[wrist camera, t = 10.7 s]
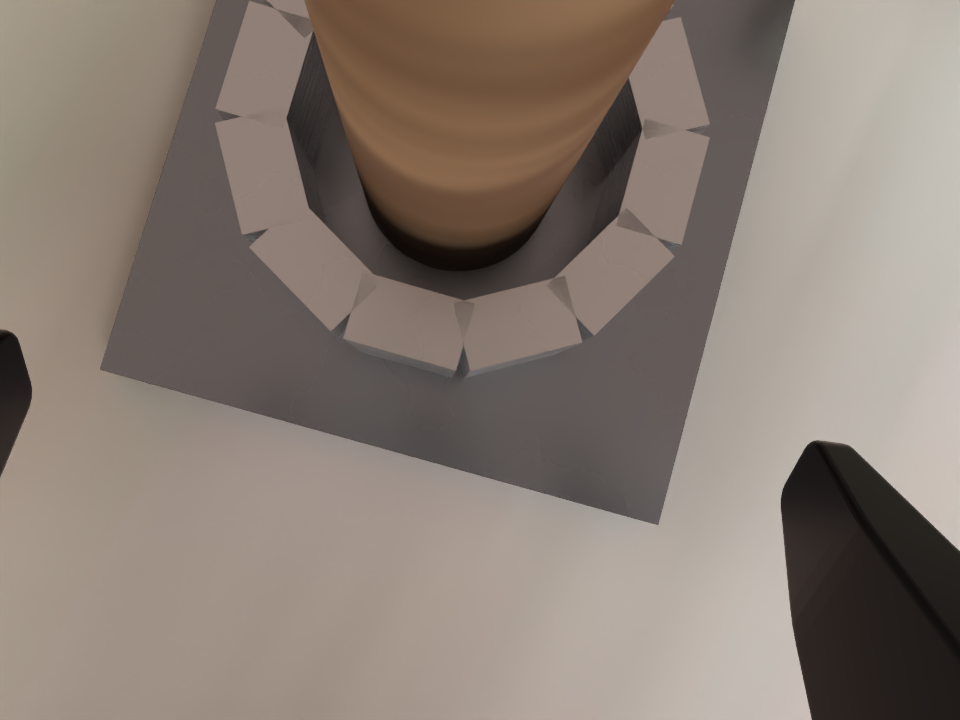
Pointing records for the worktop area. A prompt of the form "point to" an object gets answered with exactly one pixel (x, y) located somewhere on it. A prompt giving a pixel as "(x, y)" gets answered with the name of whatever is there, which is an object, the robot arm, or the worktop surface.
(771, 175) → the worktop surface
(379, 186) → the brown wooden cylinder
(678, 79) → the bracket
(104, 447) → the worktop surface
